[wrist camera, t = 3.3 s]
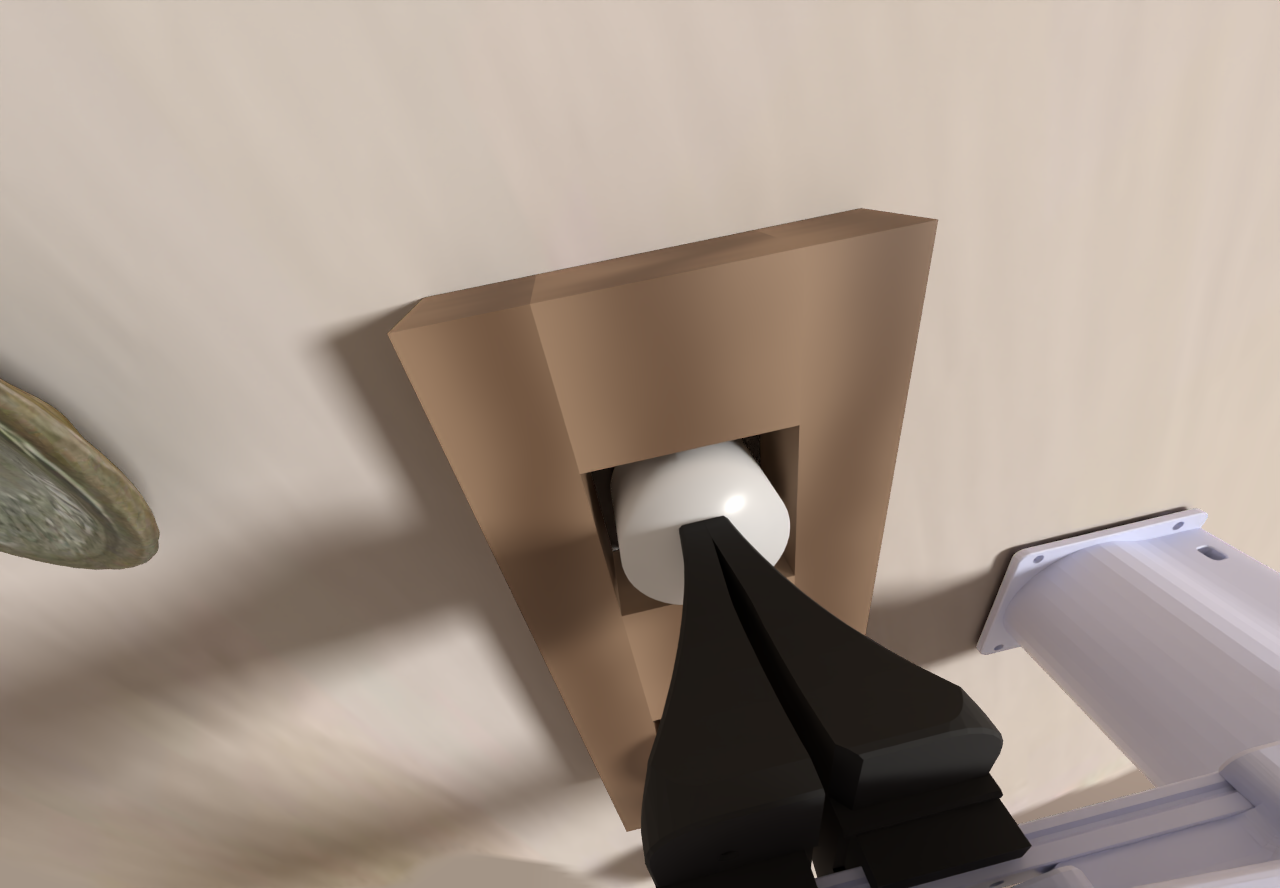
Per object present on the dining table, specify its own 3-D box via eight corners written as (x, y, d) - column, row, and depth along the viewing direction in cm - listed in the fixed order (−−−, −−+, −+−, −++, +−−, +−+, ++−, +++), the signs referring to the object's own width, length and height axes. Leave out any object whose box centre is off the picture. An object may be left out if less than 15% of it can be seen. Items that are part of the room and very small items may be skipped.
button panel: (861, 208, 12) (938, 219, 10) (814, 720, 27) (840, 777, 25) (424, 297, 12) (386, 333, 9) (620, 769, 27) (626, 831, 24)
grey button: (750, 404, 14) (791, 457, 12) (754, 520, 17) (788, 584, 15) (596, 438, 14) (604, 499, 12) (624, 549, 17) (636, 620, 14)
